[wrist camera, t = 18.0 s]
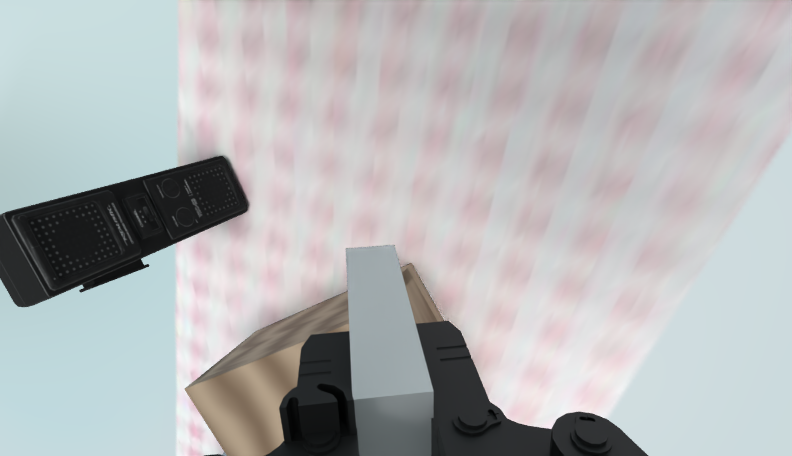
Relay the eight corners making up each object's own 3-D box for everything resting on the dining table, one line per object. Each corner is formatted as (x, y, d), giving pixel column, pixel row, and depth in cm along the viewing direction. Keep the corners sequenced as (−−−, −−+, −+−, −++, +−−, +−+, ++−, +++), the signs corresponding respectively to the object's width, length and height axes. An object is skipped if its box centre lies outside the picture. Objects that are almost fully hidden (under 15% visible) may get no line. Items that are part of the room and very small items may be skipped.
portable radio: (256, 217, 55) (31, 322, 33) (220, 231, 57) (-12, 338, 35) (226, 152, 54) (-29, 217, 31) (190, 170, 56) (-69, 241, 34)
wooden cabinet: (311, 423, 62) (254, 498, 51) (255, 331, 60) (184, 389, 50) (475, 377, 51) (444, 460, 40) (411, 263, 49) (362, 318, 39)
